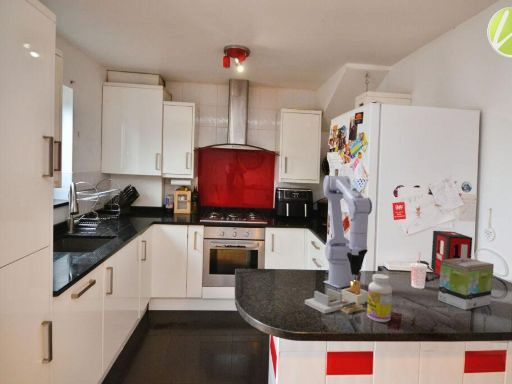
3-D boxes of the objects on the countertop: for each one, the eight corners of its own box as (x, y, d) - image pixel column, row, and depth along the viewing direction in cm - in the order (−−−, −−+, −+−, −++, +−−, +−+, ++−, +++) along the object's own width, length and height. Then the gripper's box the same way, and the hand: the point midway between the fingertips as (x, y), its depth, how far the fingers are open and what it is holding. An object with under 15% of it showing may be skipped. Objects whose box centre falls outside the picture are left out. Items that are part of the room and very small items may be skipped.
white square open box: (354, 295, 115) (354, 286, 115) (370, 302, 109) (370, 292, 109) (341, 298, 111) (341, 289, 111) (357, 305, 105) (357, 296, 105)
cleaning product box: (469, 285, 134) (472, 237, 133) (446, 283, 135) (449, 236, 134) (450, 274, 150) (453, 231, 149) (430, 272, 151) (433, 230, 150)
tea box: (466, 311, 104) (469, 266, 104) (437, 300, 113) (439, 259, 113) (491, 304, 111) (494, 262, 111) (462, 295, 120) (464, 256, 120)
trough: (354, 305, 105) (354, 300, 105) (362, 309, 102) (362, 303, 102) (339, 309, 101) (339, 304, 101) (347, 313, 98) (347, 307, 98)
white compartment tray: (330, 297, 112) (330, 285, 112) (350, 306, 104) (351, 293, 104) (304, 303, 105) (305, 291, 105) (324, 313, 98) (325, 300, 97)
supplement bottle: (363, 313, 99) (365, 272, 99) (383, 313, 100) (385, 272, 99) (372, 323, 92) (375, 279, 92) (394, 323, 93) (397, 279, 92)
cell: (350, 296, 112) (350, 278, 112) (360, 298, 111) (361, 279, 111) (349, 299, 109) (350, 281, 109) (359, 301, 108) (360, 282, 108)
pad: (327, 297, 107) (327, 294, 107) (336, 301, 104) (336, 298, 104) (319, 299, 105) (319, 296, 105) (328, 303, 102) (328, 300, 102)
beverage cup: (409, 287, 127) (411, 252, 126) (408, 283, 133) (410, 249, 132) (427, 290, 125) (429, 254, 124) (425, 285, 130) (427, 251, 130)
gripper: (349, 229, 118) (347, 265, 118) (343, 234, 104) (341, 275, 105) (369, 230, 115) (367, 268, 115) (365, 236, 101) (363, 278, 102)
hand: (356, 271), depth 110 cm, fingers open, 7 cm apart
